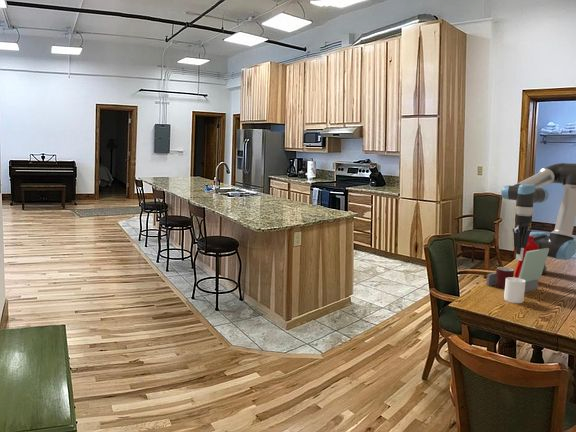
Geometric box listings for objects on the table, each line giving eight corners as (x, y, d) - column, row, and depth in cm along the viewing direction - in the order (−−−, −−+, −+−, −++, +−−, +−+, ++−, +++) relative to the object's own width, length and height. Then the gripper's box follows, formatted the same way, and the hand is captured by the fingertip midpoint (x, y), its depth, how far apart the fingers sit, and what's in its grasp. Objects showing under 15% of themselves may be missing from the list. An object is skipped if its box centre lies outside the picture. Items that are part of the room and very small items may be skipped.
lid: (547, 247, 222) (549, 248, 221) (538, 277, 227) (540, 278, 226) (526, 251, 213) (528, 252, 212) (517, 282, 218) (519, 283, 217)
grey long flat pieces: (507, 280, 242) (508, 269, 241) (537, 289, 228) (538, 277, 227) (486, 285, 233) (487, 274, 232) (516, 294, 219) (517, 282, 218)
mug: (520, 290, 225) (522, 271, 223) (508, 292, 221) (510, 273, 220) (502, 284, 234) (504, 266, 232) (491, 286, 231) (493, 267, 229)
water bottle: (522, 277, 249) (526, 233, 245) (538, 282, 239) (543, 237, 235) (508, 278, 246) (513, 233, 242) (525, 284, 236) (529, 237, 232)
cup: (503, 301, 208) (505, 280, 206) (503, 294, 218) (505, 274, 217) (523, 304, 204) (525, 283, 203) (522, 297, 215) (525, 276, 213)
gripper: (524, 213, 233) (519, 257, 237) (509, 214, 227) (504, 259, 230) (538, 215, 227) (533, 260, 230) (523, 216, 220) (518, 263, 224)
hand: (518, 260), depth 230 cm, fingers closed
